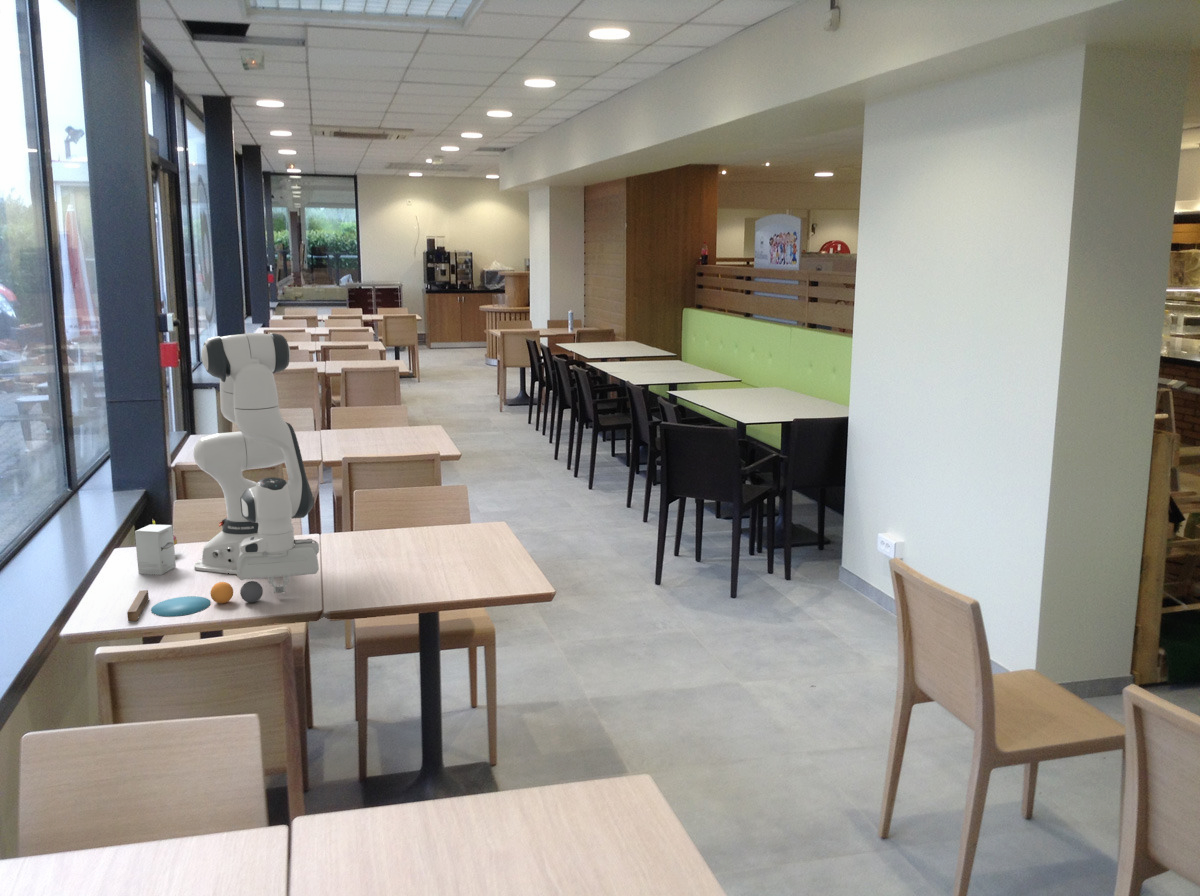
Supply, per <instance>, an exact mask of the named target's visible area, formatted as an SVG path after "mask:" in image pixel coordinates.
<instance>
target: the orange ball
mask: <svg viewBox="0 0 1200 896" xmlns="http://www.w3.org/2000/svg"><path fill="white" fill-rule="evenodd" d="M233 596H234V589H233V586H232V584H230V583H228V582H226V581H219V582H217V583H215V584H214V585H213V586H212V587H211V589H210V597H211V599H212V600H213V601H214V602H215V603H216V604H225V603H228V602H229V601H230V600H231V599H232V598H233Z"/></svg>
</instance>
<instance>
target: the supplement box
mask: <svg viewBox="0 0 1200 896" xmlns="http://www.w3.org/2000/svg"><path fill="white" fill-rule="evenodd" d="M173 535H174V529H173V524H156V525H153V524H148V525H145V526H144V527H141V528H139V529H137V530H135V531H134V536H135V548H136V558H137V559H136V560H137V570H138V572H137V573H138V574H139V575H152V574H153V576H162V575H163V574H165V573H167V572H169V571H171V570H173V569H174V568H176V567H177V565H176V553H175V550H176V549H175V545H174V538H173ZM154 574H155V575H154Z"/></svg>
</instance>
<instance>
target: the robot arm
mask: <svg viewBox="0 0 1200 896" xmlns="http://www.w3.org/2000/svg"><path fill="white" fill-rule="evenodd" d="M200 354H201V355H200V356H201V361H202V364H203V366H204V368H205V371H206V372H207V373H208V374H209V375H211V376H212V377H214V378H217V379H219V399H220V400H219V402H220V403H219V404H220V412H221V414H222V416H223V418H225V419H226V420H227V421H229V422H231V423H233V424H236V427H237V429H238V431H232V432H229V431H227V432H217V433H213V434H209V435H205V436H202V437H200V438H199V439H198V440H197V442H196V443H195V444H194V448H193V459H194V462H195V464H196V466H198V468H199V469H200V470H201V471H203V472H204V473H206V474H208V475H210V476H211V478H213V479H214V480H215V481H216V482H217V483H218V484H219V486H220V487H221V490H222V493H223V496H224V503H225V507H226V508H225V509H226V517H225V518H224V519H222V520H221V521H220V522H218V524H219V525H218V527H222V529H221V531H220V532H218V533H217V534H216V535H215V536H214V537H213V538H211V539H210V540H209V541H208V542H206V544H205V545H204V546H203V550H202V555H201V557H202V558H201V559H199V560H197V561H196V562H195V564H194V570H195V571H200V572H201V571H203V572H204V571H205V572H209V573H210V572H211V573H221V574H228V573H229V574H230V575H236V576H237V578H238V579H239V580H241V581H244V580H254V579H268V583H269V584H270V586H271V587H272V588H273V593H274V594H283V593H286V591H287V585H288V583H289V581H290V577H294V576H305V575H316V574H317V573H319V570H320V568H319V566H320V565H319V559H318V554H319V552H320V546H319V545H320V544H319V543H318V542H317V541H316V540H315V539H313V538H305V539H303V538H302V539H301V538H300V539H295V533H294V531H295V530H294V529H295V528H294V524H293V523H292V519H303V518H305V517H306V516H307V515H308V514H309V513H310V512H311V510H312V509H313V508H314V496H313V493H312V489H311V486H310V484H309V480H308V477H307V474H306V470H305V465H304V461H303V455H302V453H301V452H302V451H301V449H300V445H299V441H298V439H297V435H296V432H295V430H294V427H293V426H292V424H291V423H289V422H287V421H285V420H284V418H283V417H282V414H281V410H280V404H279V403H280V402H279V395H278V387H277V384H276V379H275V376H274V374H276V373H277V374H278V373H280V372H282V371H285V370H286V369H287V367H288V366H289V364H290V359H291V348H290V345H289V343H288V340H287V338H285V336H284V335H283V334H279V333H273V332H269V333H256V332H250V333H248V332H247V333H246V332H245V333H241V334H230V335H224V336H220V335H217V336H213V337H210V338H207V339H206V340H205V341H204V342H203V347H202V349H201V353H200ZM282 464H284V465H285V470H286V473H287V476H288V479H287V480H285V479H283V478H282V477H273V476H272V477H271V476H270V477H265V478H262V479H259V480H258V481H257V482H256V481H253V480H250V479H247V478H245V477H244V475H243V471H246V470H256V469H257V470H258V469H266V468H270V467H271V468H272V467H274V466H278V465H282ZM229 574H228V575H229ZM279 577H280V578H281V577H283V578H282V579H283V583H282V584H277V583H276V582H275V578H279Z"/></svg>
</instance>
